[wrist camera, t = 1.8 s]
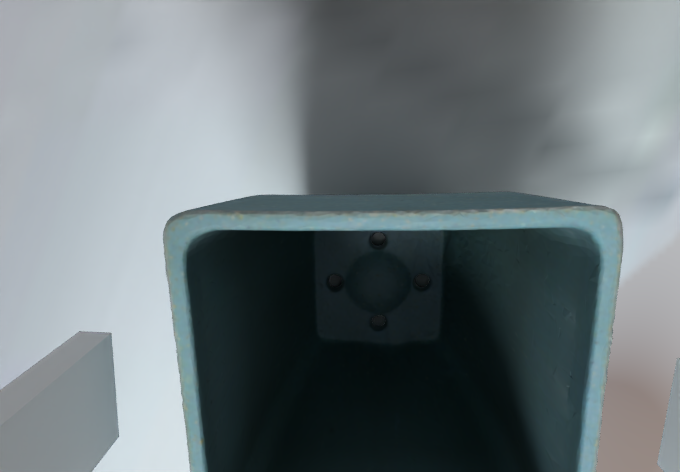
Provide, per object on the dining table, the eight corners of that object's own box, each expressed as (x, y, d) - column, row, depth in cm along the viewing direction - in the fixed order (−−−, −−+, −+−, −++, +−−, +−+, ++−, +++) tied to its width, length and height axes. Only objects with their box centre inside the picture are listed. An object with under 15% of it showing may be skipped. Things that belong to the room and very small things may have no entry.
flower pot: (266, 385, 20) (197, 589, 12) (253, 165, 18) (155, 212, 10) (488, 385, 20) (587, 595, 11) (499, 160, 18) (631, 204, 9)
